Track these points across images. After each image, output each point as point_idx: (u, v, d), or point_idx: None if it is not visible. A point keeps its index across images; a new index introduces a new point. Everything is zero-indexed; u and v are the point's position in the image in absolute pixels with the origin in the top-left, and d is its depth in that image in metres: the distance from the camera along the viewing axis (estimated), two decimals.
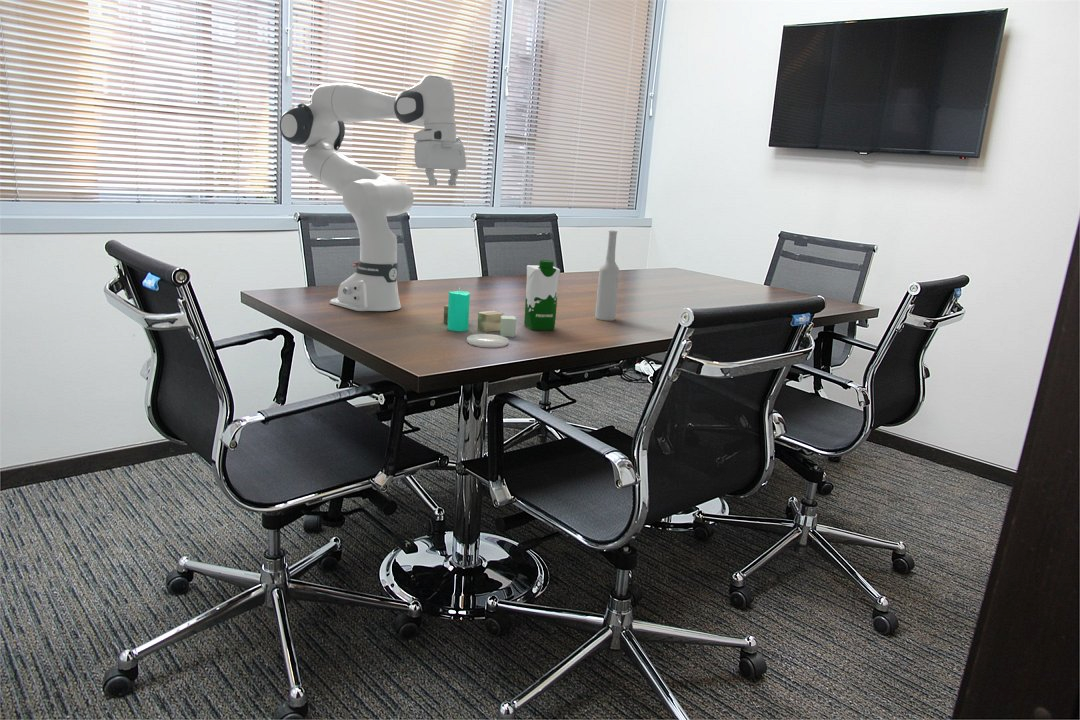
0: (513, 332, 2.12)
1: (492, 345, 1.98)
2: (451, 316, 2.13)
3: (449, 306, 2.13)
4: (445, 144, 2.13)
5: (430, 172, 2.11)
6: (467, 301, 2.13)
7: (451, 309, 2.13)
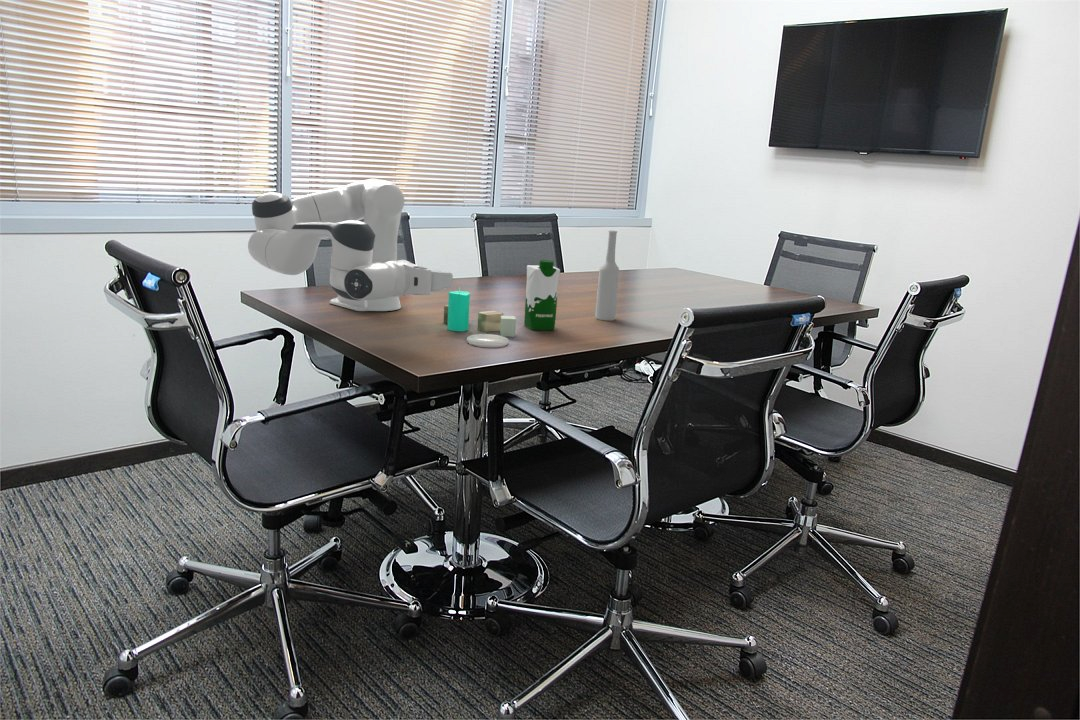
0: (513, 332, 2.12)
1: (492, 345, 1.98)
2: (451, 316, 2.13)
3: (449, 306, 2.13)
4: None
5: None
6: (467, 301, 2.13)
7: (451, 309, 2.13)
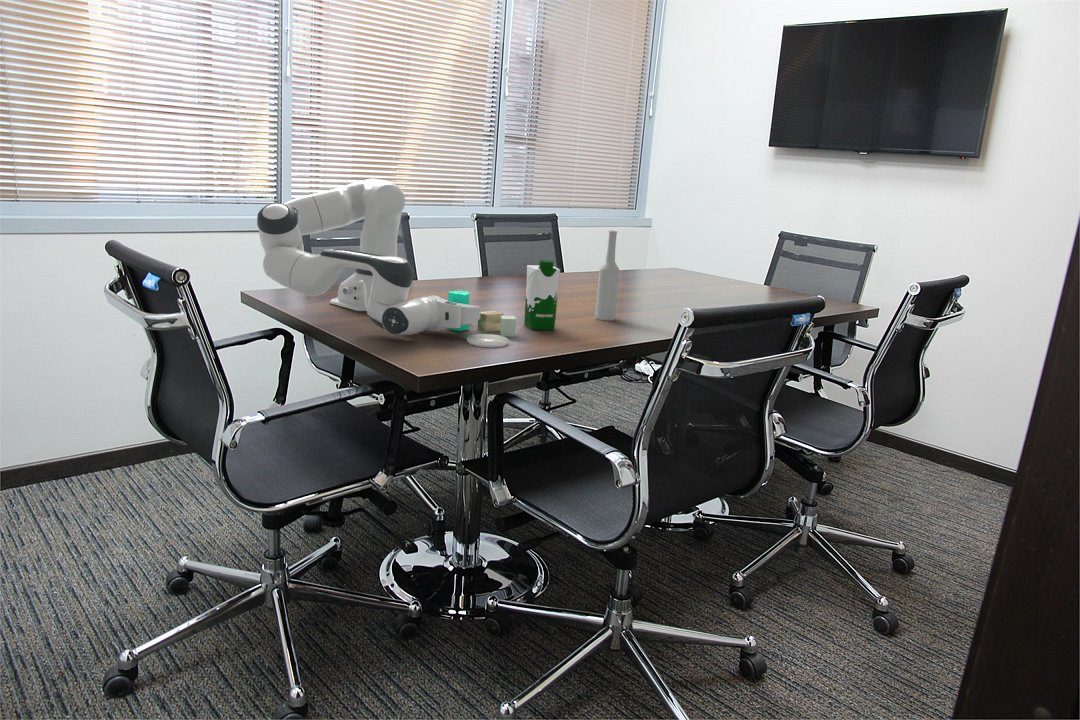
0: (513, 332, 2.12)
1: (492, 345, 1.98)
2: None
3: None
4: None
5: None
6: (466, 301, 2.13)
7: None
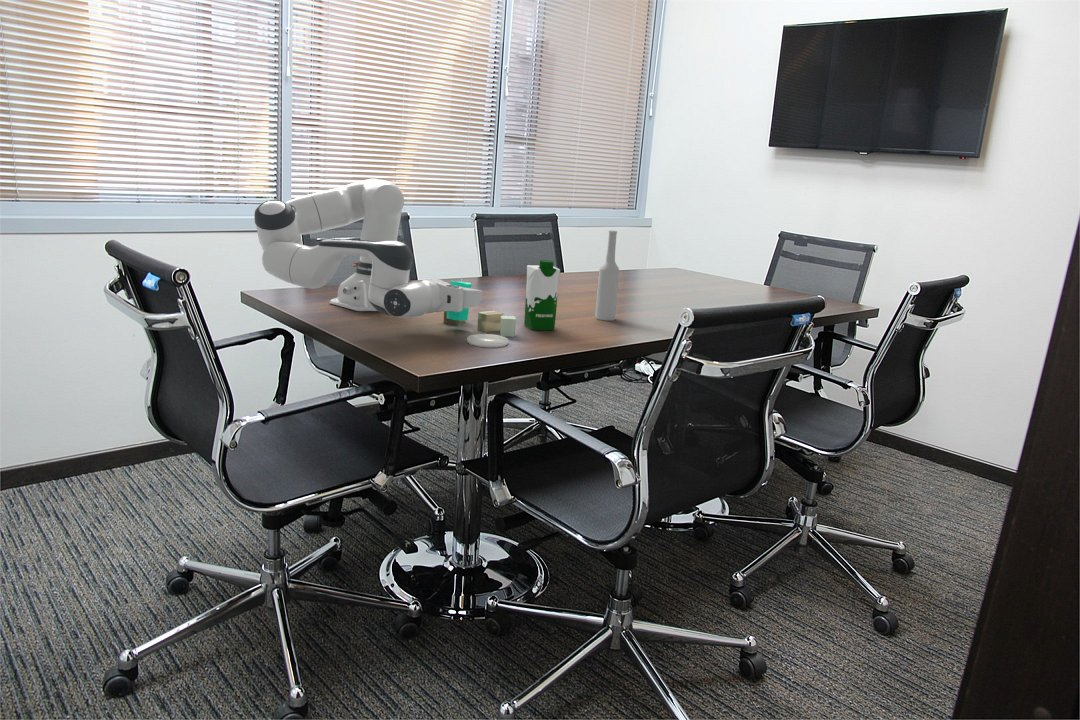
0: (513, 332, 2.12)
1: (492, 345, 1.98)
2: None
3: None
4: None
5: None
6: None
7: None
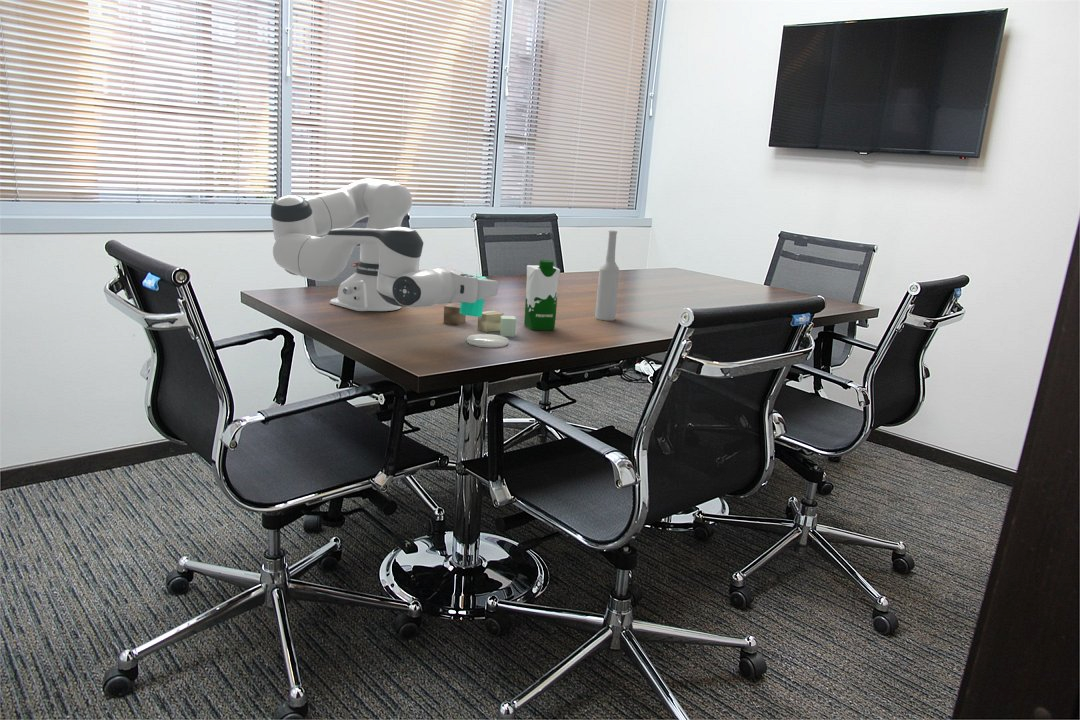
0: (513, 332, 2.12)
1: (492, 345, 1.98)
2: None
3: None
4: None
5: None
6: None
7: None
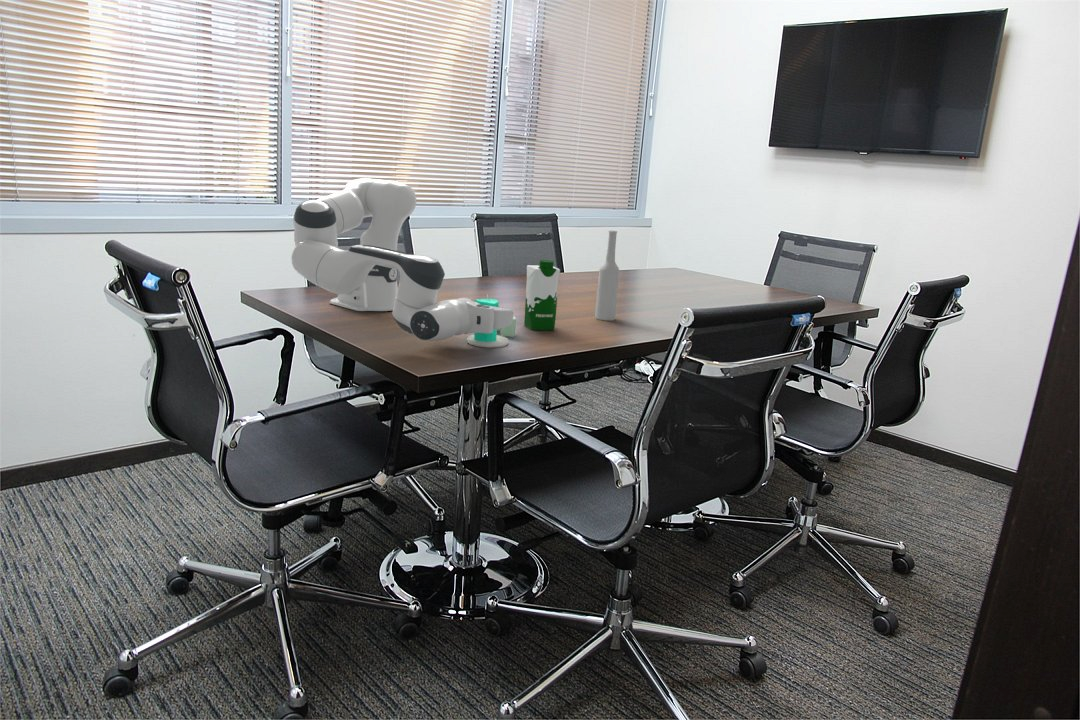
0: (513, 332, 2.12)
1: (492, 345, 1.98)
2: None
3: None
4: None
5: None
6: None
7: None
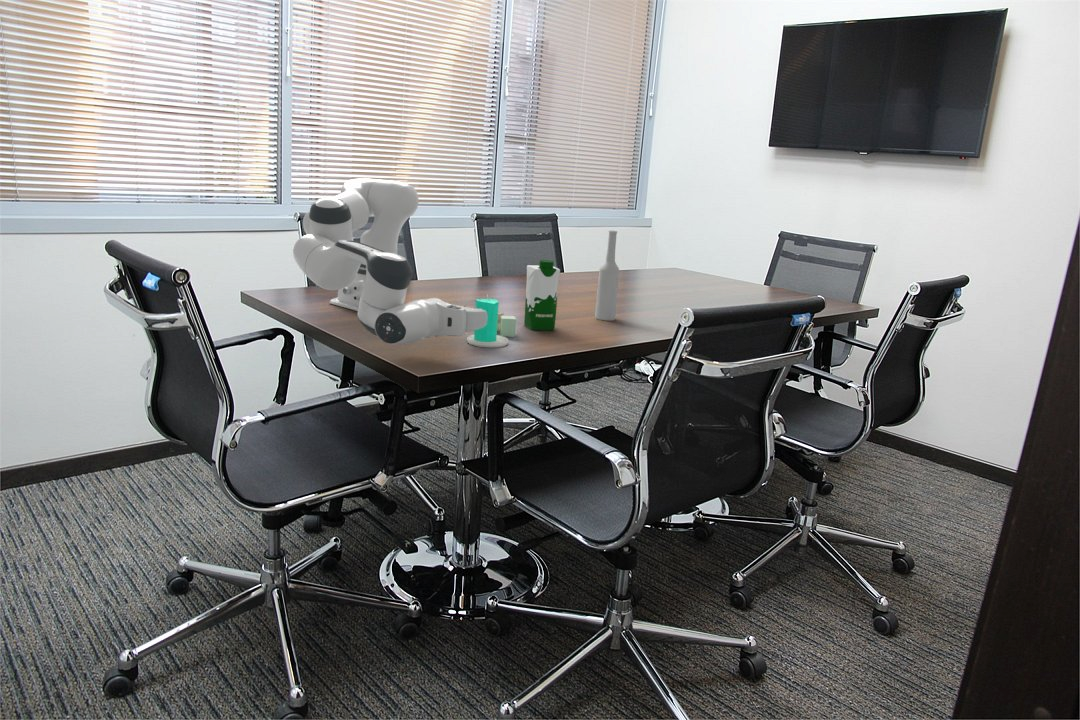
0: (513, 332, 2.12)
1: (492, 345, 1.98)
2: None
3: None
4: None
5: None
6: (495, 310, 1.98)
7: None
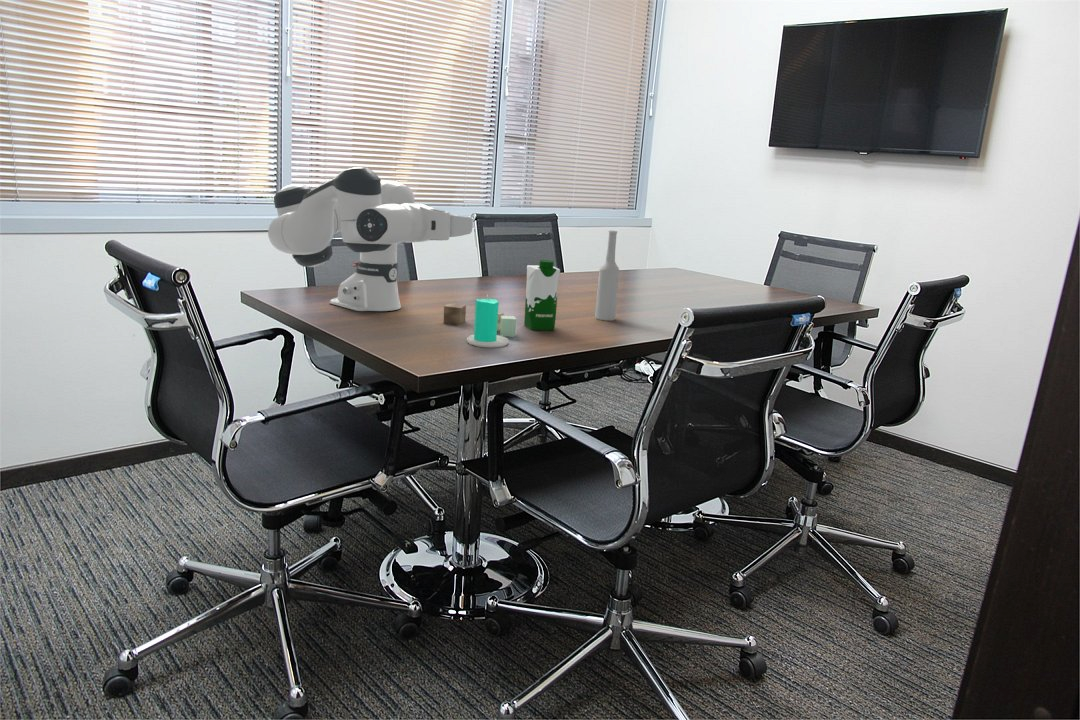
0: (513, 332, 2.12)
1: (492, 345, 1.98)
2: (477, 326, 1.99)
3: (476, 315, 1.99)
4: None
5: None
6: (495, 310, 1.98)
7: (477, 318, 1.98)
